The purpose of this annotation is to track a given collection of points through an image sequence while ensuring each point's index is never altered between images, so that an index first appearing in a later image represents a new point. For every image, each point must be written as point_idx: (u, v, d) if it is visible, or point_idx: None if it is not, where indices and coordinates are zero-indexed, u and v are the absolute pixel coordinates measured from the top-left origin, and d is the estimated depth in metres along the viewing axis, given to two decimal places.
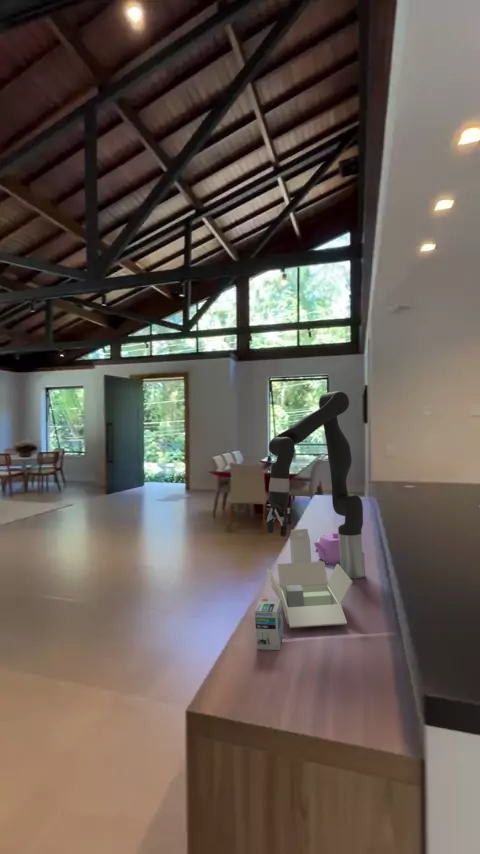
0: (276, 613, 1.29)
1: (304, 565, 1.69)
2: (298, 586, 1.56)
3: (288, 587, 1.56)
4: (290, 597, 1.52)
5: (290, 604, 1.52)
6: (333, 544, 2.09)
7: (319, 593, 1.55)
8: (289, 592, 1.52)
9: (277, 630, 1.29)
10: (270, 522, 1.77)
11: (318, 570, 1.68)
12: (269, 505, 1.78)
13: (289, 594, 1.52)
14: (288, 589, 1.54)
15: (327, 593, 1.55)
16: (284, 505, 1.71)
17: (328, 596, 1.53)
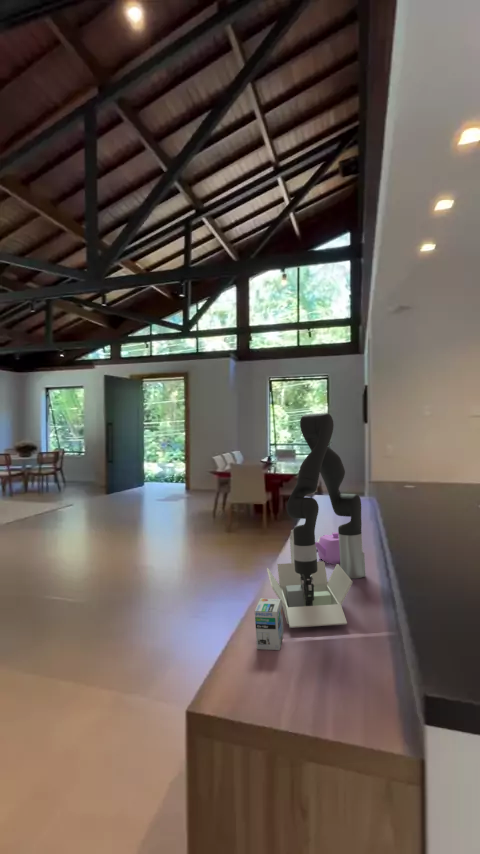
0: (276, 613, 1.29)
1: None
2: (298, 586, 1.56)
3: (288, 587, 1.56)
4: (290, 597, 1.52)
5: (290, 604, 1.52)
6: (333, 544, 2.09)
7: (319, 593, 1.55)
8: (289, 592, 1.52)
9: (277, 630, 1.29)
10: None
11: (318, 570, 1.68)
12: (302, 573, 1.60)
13: (289, 594, 1.52)
14: (288, 589, 1.54)
15: (327, 593, 1.55)
16: (308, 576, 1.52)
17: (328, 596, 1.53)
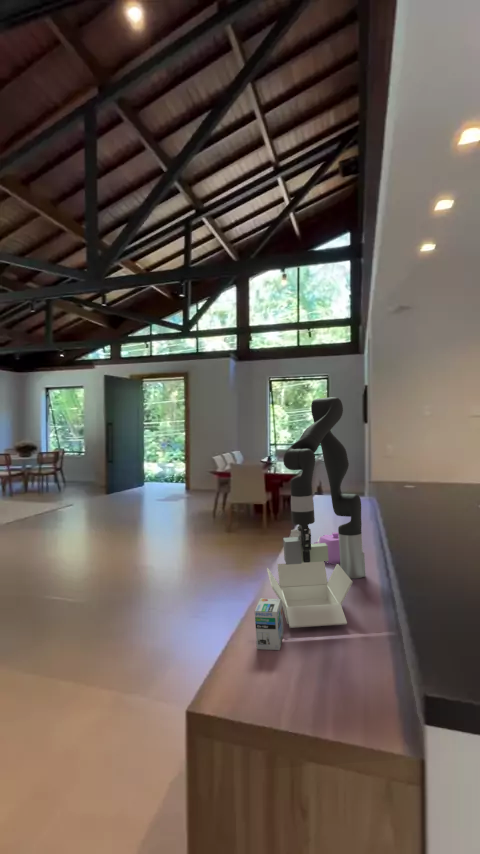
0: (276, 613, 1.29)
1: (304, 565, 1.69)
2: (295, 538, 1.57)
3: (285, 539, 1.56)
4: (287, 548, 1.52)
5: (287, 554, 1.52)
6: (333, 544, 2.09)
7: (316, 544, 1.56)
8: (286, 543, 1.52)
9: (277, 630, 1.29)
10: None
11: (318, 570, 1.68)
12: None
13: (286, 545, 1.52)
14: (285, 540, 1.54)
15: (324, 544, 1.55)
16: (305, 526, 1.52)
17: (325, 547, 1.54)
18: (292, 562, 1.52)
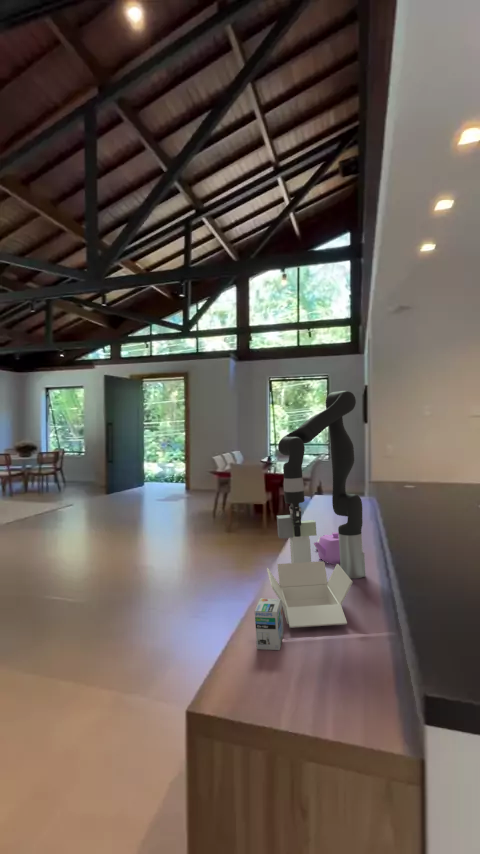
0: (276, 613, 1.29)
1: (304, 565, 1.69)
2: (287, 515, 1.78)
3: (279, 516, 1.77)
4: (280, 523, 1.73)
5: (280, 529, 1.73)
6: (333, 544, 2.09)
7: (306, 521, 1.77)
8: (279, 519, 1.73)
9: (277, 630, 1.29)
10: None
11: (318, 570, 1.68)
12: None
13: (279, 521, 1.73)
14: (278, 517, 1.75)
15: (313, 521, 1.76)
16: (296, 504, 1.73)
17: (314, 523, 1.74)
18: (284, 536, 1.73)
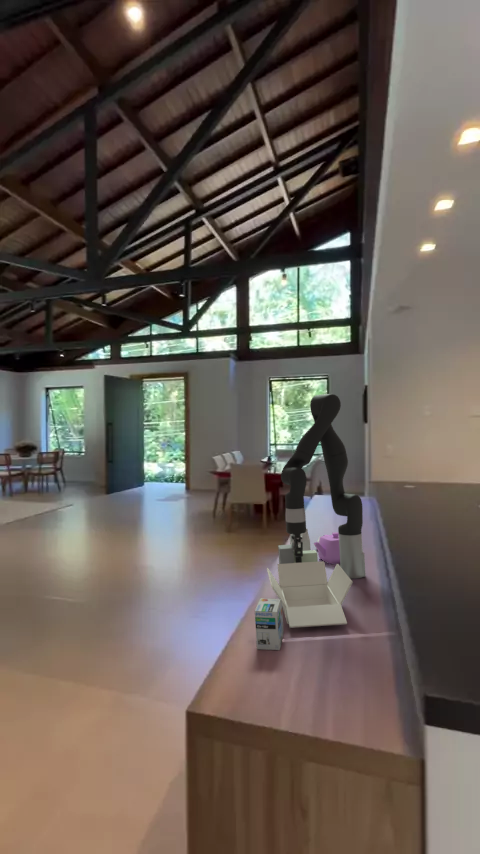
0: (276, 613, 1.29)
1: (304, 565, 1.69)
2: (289, 545, 1.77)
3: (280, 546, 1.77)
4: (282, 554, 1.73)
5: (282, 560, 1.73)
6: (333, 544, 2.09)
7: (307, 551, 1.76)
8: (281, 550, 1.73)
9: (277, 630, 1.29)
10: None
11: (318, 570, 1.68)
12: (293, 535, 1.81)
13: (281, 551, 1.73)
14: (280, 547, 1.75)
15: (314, 551, 1.76)
16: (298, 535, 1.73)
17: (315, 553, 1.74)
18: None
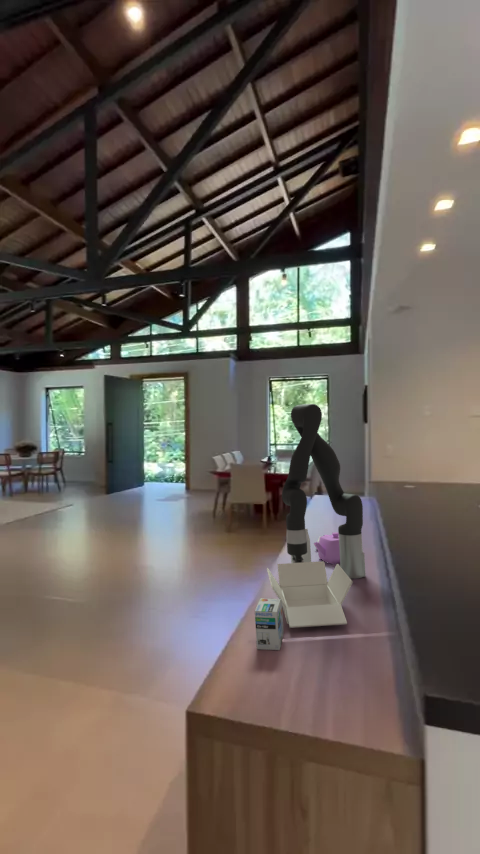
0: (276, 613, 1.29)
1: (304, 565, 1.69)
2: None
3: None
4: None
5: None
6: (333, 544, 2.09)
7: None
8: None
9: (277, 630, 1.29)
10: None
11: (318, 570, 1.68)
12: None
13: None
14: None
15: None
16: (299, 557, 1.73)
17: None
18: None
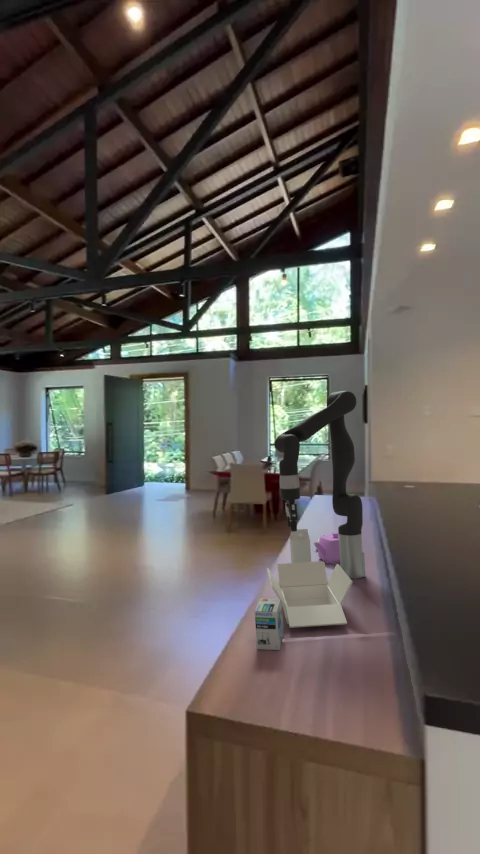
0: (276, 613, 1.29)
1: (304, 565, 1.69)
2: None
3: None
4: None
5: None
6: (333, 544, 2.09)
7: None
8: None
9: (277, 630, 1.29)
10: (289, 516, 1.83)
11: (318, 570, 1.68)
12: (287, 500, 1.84)
13: None
14: None
15: None
16: (292, 501, 1.75)
17: None
18: None
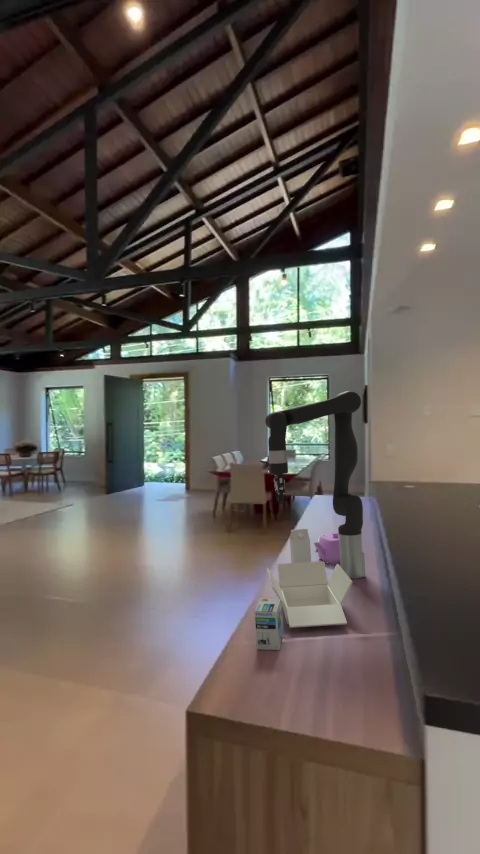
0: (276, 613, 1.29)
1: (304, 565, 1.69)
2: None
3: None
4: None
5: None
6: (333, 544, 2.09)
7: None
8: None
9: (277, 630, 1.29)
10: (278, 491, 1.90)
11: (318, 570, 1.68)
12: (276, 475, 1.92)
13: None
14: None
15: None
16: (280, 475, 1.83)
17: None
18: None
